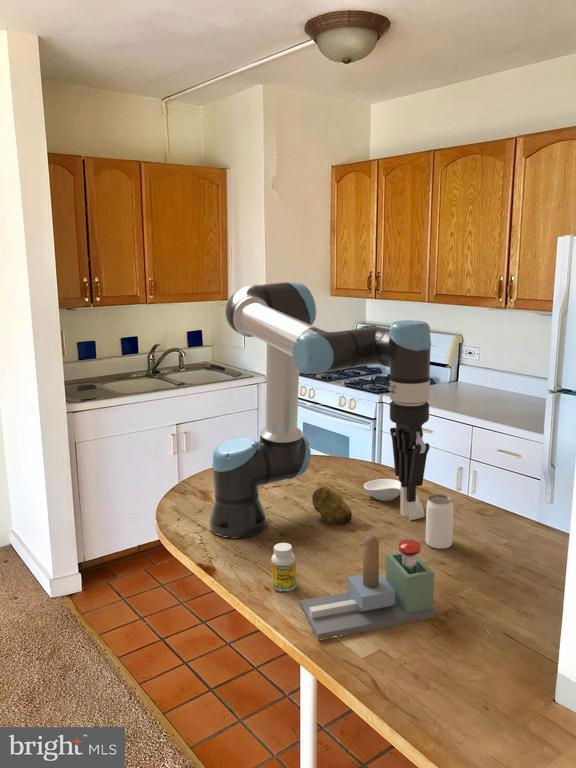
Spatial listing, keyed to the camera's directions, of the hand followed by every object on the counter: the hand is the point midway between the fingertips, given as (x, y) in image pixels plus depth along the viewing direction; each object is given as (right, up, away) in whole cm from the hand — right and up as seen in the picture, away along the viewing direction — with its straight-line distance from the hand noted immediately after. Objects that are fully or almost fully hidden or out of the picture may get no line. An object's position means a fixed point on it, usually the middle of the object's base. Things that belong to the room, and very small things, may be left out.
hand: (407, 514), depth 128 cm
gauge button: (+1, -16, +4) cm, 16 cm away
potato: (-12, -11, +46) cm, 49 cm away
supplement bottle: (-25, -19, +13) cm, 34 cm away
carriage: (-7, -19, +3) cm, 21 cm away
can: (+14, -14, +31) cm, 36 cm away
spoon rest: (+7, -9, +55) cm, 56 cm away
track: (-8, -21, +3) cm, 22 cm away
